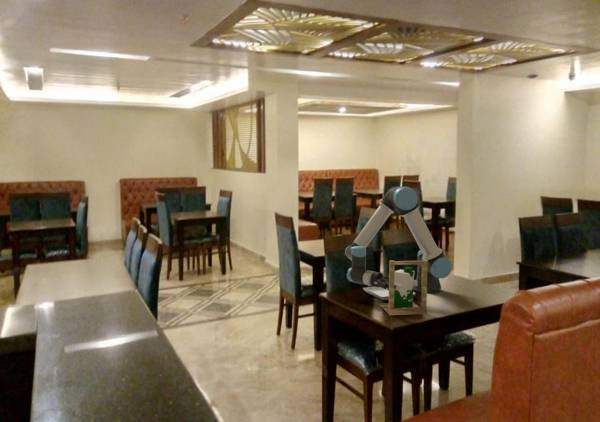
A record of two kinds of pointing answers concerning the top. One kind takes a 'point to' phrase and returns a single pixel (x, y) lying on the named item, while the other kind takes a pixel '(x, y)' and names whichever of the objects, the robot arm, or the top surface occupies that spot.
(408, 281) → the fresh milk carton
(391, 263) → the wooden frame stand
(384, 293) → the salad plate
